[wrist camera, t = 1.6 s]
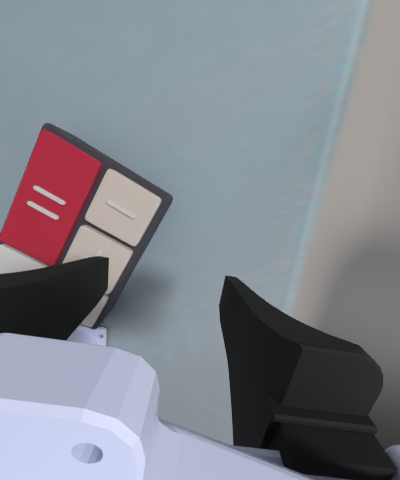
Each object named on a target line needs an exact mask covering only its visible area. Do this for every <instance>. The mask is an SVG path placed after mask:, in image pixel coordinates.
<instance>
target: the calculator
mask: <svg viewBox="0 0 400 480" xmlns="http://www.w3.org/2000/svg"><path fill="white" fill-rule="evenodd" d="M172 200H173V198H172V196H171V195H170V194H168V193H167V192H165V191H164V190H162V189H160V188H159V187H157V186H155V185H154V184H152V183H151V182H149V181H147V180H146V179H144V178H142V177H141V176H139V175H137V174H136V173H134V172H133V171H131V170H129V169H128V168H126V167H124V166H123V165H121V164H119V163H118V162H116V161H115V160H113V159H111V158H110V157H108V156H106V155H105V154H103V153H101V152H100V151H98V150H97V149H95V148H93V147H92V146H90V145H88V144H87V143H85V142H84V141H82V140H80V139H79V138H77V137H75V136H74V135H72V134H70V133H68V132H66V131H64V130H62V129H60V128H58V127H56V126H54V125H52V124H50V123H46V124H44V125H43V127H42V129H41V132H40V134H39V137H38V139H37V142H36V144H35V147H34V149H33V152H32V154H31V157H30V160H29V162H28V165H27V167H26V170H25V172H24V175H23V177H22V180H21V182H20V185H19V188H18V190H17V193H16V195H15V198H14V200H13V203H12V205H11V208H10V210H9V213H8V215H7V218H6V221H5V223H4V226H3V228H2V231H1V233H0V274H4V273H13V272H21V271H27V270H34V269H39V268H44V267H49V266H54V265H58V264H63V263H67V262H71V261H76V260H80V259H84V258H89V257H94V256H102V257H108V258H109V273H108V289H107V291H106V292H105V294H104V296H103V297H102V299H101V300H100V302H99V303H98V304H97V305H96V307H95V308H94V309H93V310H92V311H91V312H90V314H89V315H88V316H87V317H86V318H85V319H84V320H83V322H82V323H81V324H82V325H84V326H86V327H88V328H90V329H93V330H95V329H97V328H98V327H99V326H100V324H101V323H102V322H103V320H104V319H105V318H106V316H107V315H108V313H109V312H110V311H111V309H112V308H113V306H114V304H115V303H116V301H117V299H118V297H119V295H120V294H121V292H122V290H123V288H124V287H125V285H126V283H127V281H128V279H129V277H130V275H131V274H132V272H133V270H134V268H135V266H136V265H137V263H138V261H139V259H140V258H141V256H142V254H143V252H144V251H145V249H146V247H147V245H148V244H149V242H150V240H151V238H152V236H153V235H154V233H155V231H156V229H157V228H158V226H159V224H160V222H161V220H162V219H163V217H164V215H165V213H166V212H167V210H168V208H169V206H170V204H171V203H172Z"/></svg>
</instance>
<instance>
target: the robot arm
mask: <svg viewBox="0 0 400 480" xmlns="http://www.w3.org/2000/svg"><path fill="white" fill-rule="evenodd" d="M108 273H109V258H108V257H102V256H94V257H89V258H84V259H80V260H76V261H71V262H67V263H63V264H58V265H54V266H49V267H44V268H39V269H34V270H27V271H21V272H13V273H4V274H0V480H400V445H394V446H391V447H389V448H387V449H386V450H384V449H383V447H382V446H381V445H380V443H379V442H378V440H377V439H376V437H375V436H374V434H376V432H377V428H376V426H375V424H374V423H373V422H372V420H371V419H370V417H369V416H368V414H369V412H370V410H371V409H372V407H373V405H374V403H375V402H376V400H377V398H378V396H379V394H380V392H381V389H382V387H383V373H382V371H381V368H380V367H379V366H378V364H377V363H376V362H375V361H374V360H373V359H372V358H371V357H370V356H369V355H368V354H367V353H366V352H365V351H364V350H363V349H362V348H361V347H360V346H359V345H357V344H353V343H351V342H348V341H346V340H343V339H339V338H337V337H334V336H332V335H329V334H326V333H324V332H322V331H319V330H317V329H315V328H312V327H310V326H308V325H305V324H304V323H301V322H300V321H298V320H296V319H294V318H292V317H290V316H288V315H287V314H285V313H283V312H281V311H280V310H278V309H277V308H275V307H273V306H272V305H270V304H269V303H268V302H266V301H265V300H264V299H262V298H261V297H260V296H258V295H257V294H256V293H255V292H253V291H252V290H251V289H250V288H249V287H247V286H246V285H245V284H244V283H243V282H242V281H240V280H239V279H238V278H236V277H231V276H226V277H225V281H224V286H223V290H222V295H221V299H220V304H219V310H220V322H221V328H222V333H223V338H224V343H225V348H226V354H227V360H228V369H229V380H230V393H231V406H232V424H233V443H234V445H228V444H225V443H222V442H220V441H217V440H215V439H212V438H210V437H207V436H205V435H202V434H200V433H197V432H195V431H192V430H189V429H187V428H184V427H182V426H179V425H177V424H174V423H172V422H169V421H167V420H164V419H162V418H159V417H157V405H158V398H159V391H160V389H159V385H158V380H157V375H156V372H155V371H154V370H153V369H152V368H151V367H150V366H149V365H148V364H147V363H146V362H145V361H144V360H143V359H142V358H141V357H140V356H139V355H137V354H134V353H132V352H129V351H126V350H123V349H120V348H117V347H109V346H106V341H107V329H106V328H105V327H100V326H99V327H98V328H97V329H95V330H93V329H90V328H88V327H86V326H84V325H82V324H81V323H82V322H83V320H84V319H85V318H86V317H87V316H88V315H89V314H90V312H91V311H92V310H93V309H94V308H95V307H96V305H97V304H98V303H99V302H100V300H101V299H102V297H103V296H104V294H105V292H106V291H107V289H108ZM101 334H102V335H101Z"/></svg>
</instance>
